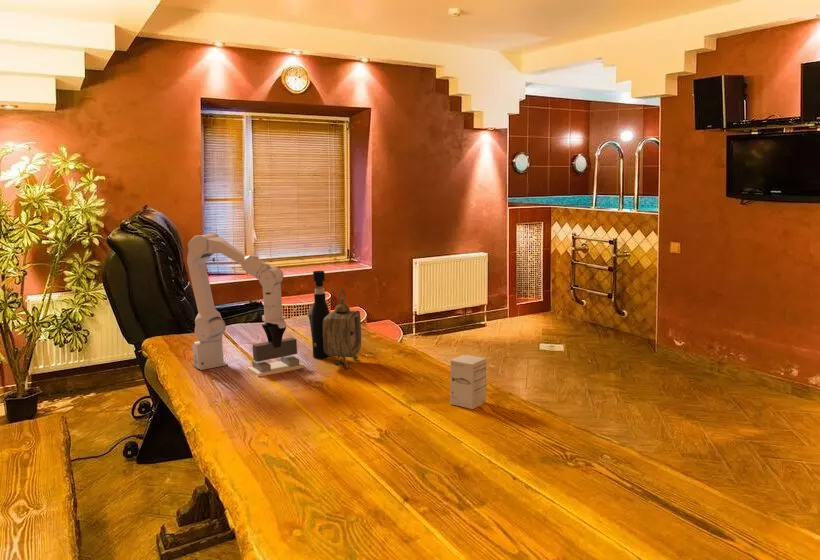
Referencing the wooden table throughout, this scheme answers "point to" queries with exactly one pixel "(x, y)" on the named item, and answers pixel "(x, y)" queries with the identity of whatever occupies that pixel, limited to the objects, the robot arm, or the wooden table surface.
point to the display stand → (275, 366)
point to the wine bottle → (318, 316)
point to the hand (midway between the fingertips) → (274, 346)
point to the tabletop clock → (342, 332)
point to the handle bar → (274, 349)
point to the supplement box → (468, 381)
